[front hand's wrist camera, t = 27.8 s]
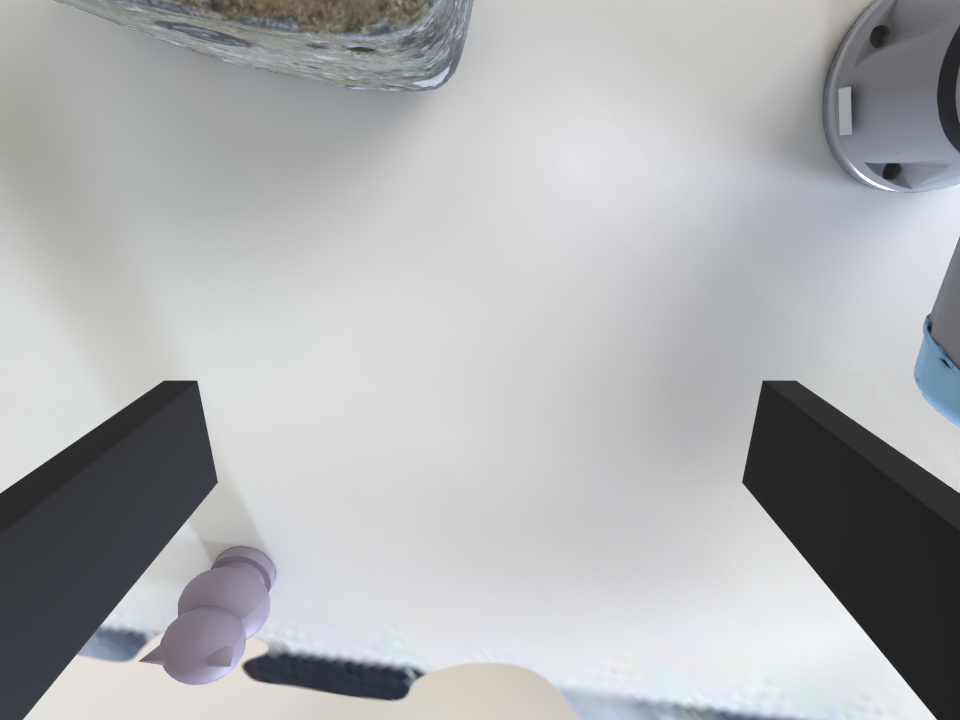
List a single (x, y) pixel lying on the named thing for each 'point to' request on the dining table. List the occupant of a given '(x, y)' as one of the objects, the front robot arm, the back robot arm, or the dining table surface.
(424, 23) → the concrete block
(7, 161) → the dining table surface
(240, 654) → the cat figurine
